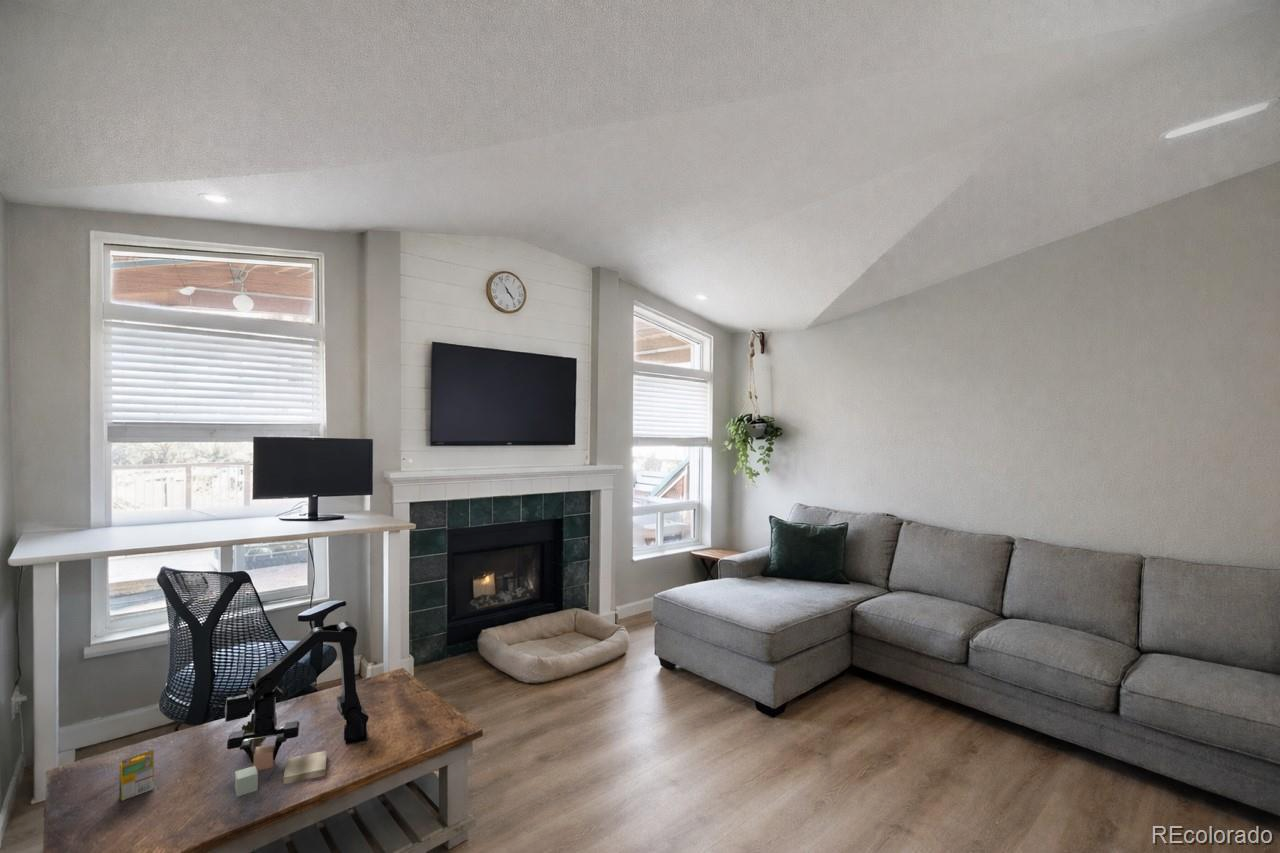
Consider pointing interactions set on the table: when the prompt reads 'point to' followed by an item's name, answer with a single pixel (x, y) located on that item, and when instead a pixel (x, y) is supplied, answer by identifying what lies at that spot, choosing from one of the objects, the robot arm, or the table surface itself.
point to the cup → (250, 729)
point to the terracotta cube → (264, 757)
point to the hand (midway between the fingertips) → (264, 761)
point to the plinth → (305, 767)
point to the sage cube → (246, 780)
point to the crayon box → (136, 775)
